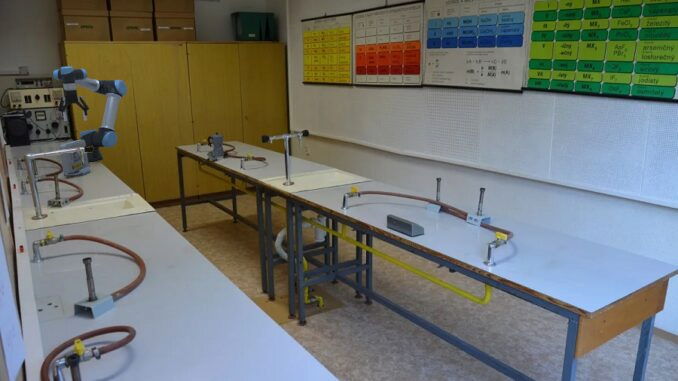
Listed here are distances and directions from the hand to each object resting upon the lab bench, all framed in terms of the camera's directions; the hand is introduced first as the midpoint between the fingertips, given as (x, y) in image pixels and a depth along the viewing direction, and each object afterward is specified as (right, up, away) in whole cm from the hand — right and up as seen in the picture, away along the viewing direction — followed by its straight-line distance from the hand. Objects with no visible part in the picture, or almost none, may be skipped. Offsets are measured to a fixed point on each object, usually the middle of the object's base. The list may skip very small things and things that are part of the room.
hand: (75, 120), depth 345 cm
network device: (+9, -36, -15) cm, 40 cm away
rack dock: (+9, -38, -14) cm, 41 cm away
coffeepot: (+88, -21, +45) cm, 101 cm away
